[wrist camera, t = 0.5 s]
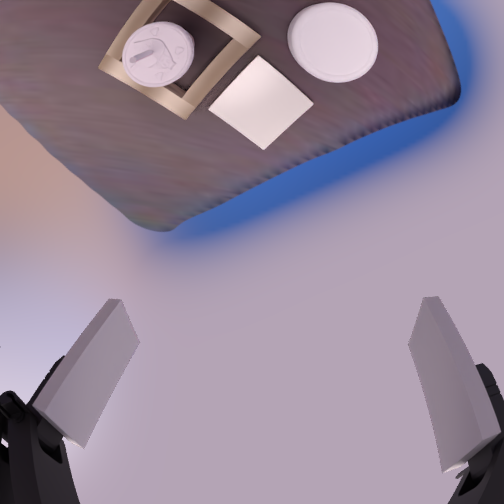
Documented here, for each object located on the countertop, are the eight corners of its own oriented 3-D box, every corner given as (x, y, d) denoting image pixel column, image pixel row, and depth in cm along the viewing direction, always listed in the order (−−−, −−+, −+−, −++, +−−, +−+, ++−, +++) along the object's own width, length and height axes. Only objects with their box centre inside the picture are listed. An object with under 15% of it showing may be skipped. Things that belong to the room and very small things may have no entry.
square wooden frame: (108, 63, 25) (97, 68, 23) (170, -22, 18) (163, -25, 16) (189, 112, 31) (185, 120, 29) (259, 35, 24) (261, 36, 22)
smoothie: (174, 11, 21) (129, 9, 12) (218, 38, 24) (200, 51, 15) (142, 52, 25) (86, 79, 15) (183, 78, 28) (150, 117, 18)
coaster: (378, 64, 26) (390, 69, 24) (308, 88, 30) (315, 95, 27) (348, -6, 20) (359, -7, 17) (271, 19, 23) (274, 19, 21)
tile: (208, 107, 31) (208, 109, 30) (258, 54, 26) (258, 55, 25) (263, 146, 36) (263, 150, 35) (312, 101, 31) (314, 103, 30)
